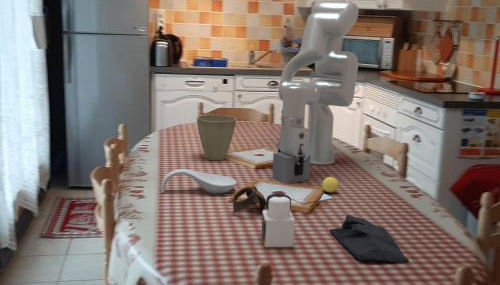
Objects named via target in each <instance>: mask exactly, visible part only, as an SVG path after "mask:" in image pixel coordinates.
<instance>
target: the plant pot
mask: <svg viewBox="0 0 500 285" xmlns="http://www.w3.org/2000/svg"><path fill="white" fill-rule="evenodd" d="M196 120H197V122H196V123H197V128H198V135H199V138H200V139H199V140H200V143H201V146H202V147H201V148H202V150H203V153H204V157H205V159H207V160H209V161H215V160H216V161H223V160H225V159H226V157H227V155H228V153H229V152H228V151H229V149H230V146H231V143H232V140H233V136H234V132H235V128H236V121H237V118H236V117H234V116H231V115H228V114H227V115H226V114H214V113H213V114H202V115H198V116H197V117H196Z"/></svg>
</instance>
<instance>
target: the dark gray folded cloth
mask: <svg viewBox="0 0 500 285" xmlns="http://www.w3.org/2000/svg"><path fill="white" fill-rule="evenodd" d="M329 232H330V233H331V234H333V236H334V237H335V239H336V240H337V241H338V242H339V243H340V244H342V245H343V246H344V247H345V248H346V249H347V250H348V251H349V252H350V253H351V254H352V255H353V257H355V258H357V259H359V260H360V261H372V262H373V261H374V262H383V263H395V264H403V263H410V260H409V259H408V257H407V256H406V255H404V252H403V251H402V249H401V248H400V246H399V244H398V243H397V242H396V240H395V239H394V238H393V237H392V235H390V233H389V232H388V231H387V229H385V228H384V227H382V226H378V225H376V224H375V223H372V222H371V221H370V220H369V221H368V220H367V219H365V218H361V217H356V216H353V215H349V214H348V215H345V219H344V220H343V222H342V226H341V227H337V228H330V229H329Z"/></svg>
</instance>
